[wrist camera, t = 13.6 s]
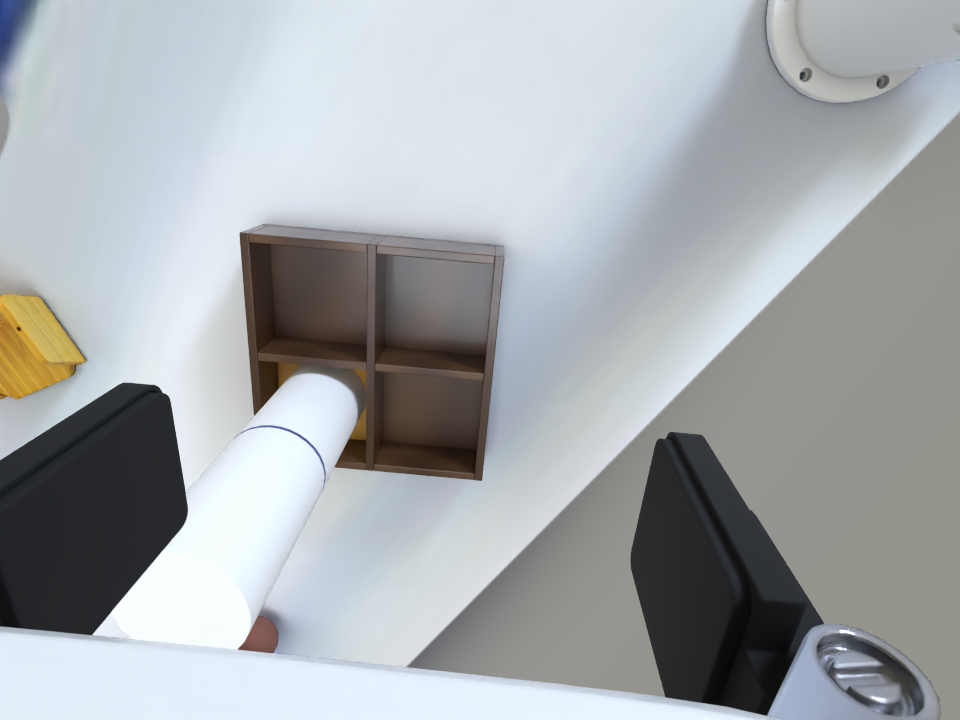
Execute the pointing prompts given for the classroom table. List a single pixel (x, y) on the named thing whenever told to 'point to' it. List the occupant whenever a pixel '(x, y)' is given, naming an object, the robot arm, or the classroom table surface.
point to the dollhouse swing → (32, 347)
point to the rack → (381, 337)
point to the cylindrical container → (246, 516)
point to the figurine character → (261, 636)
